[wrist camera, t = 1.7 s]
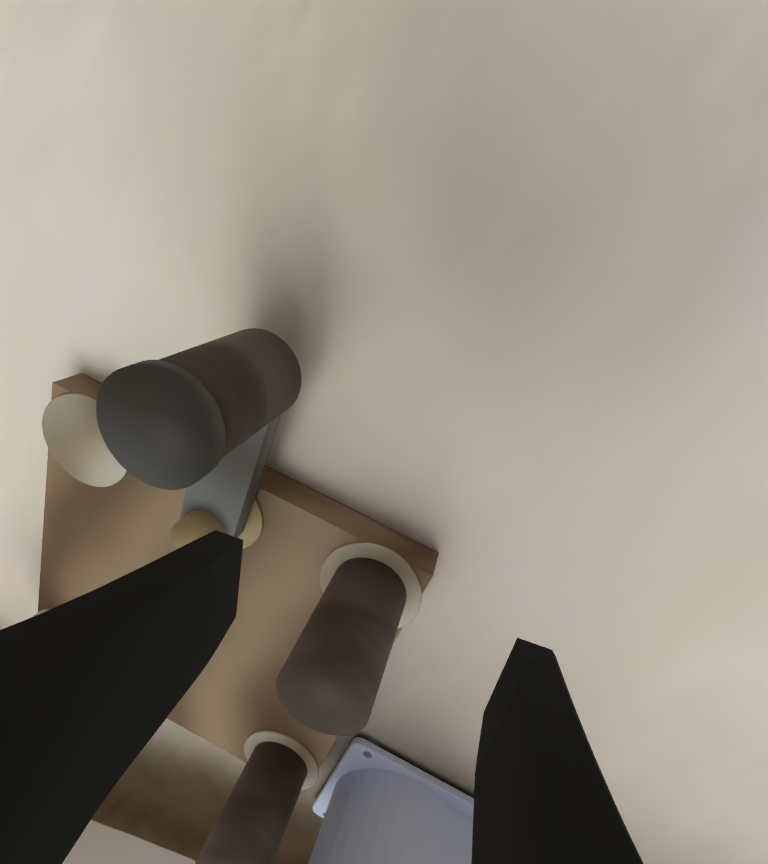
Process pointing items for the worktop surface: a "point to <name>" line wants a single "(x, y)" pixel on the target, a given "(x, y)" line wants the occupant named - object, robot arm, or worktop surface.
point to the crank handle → (202, 424)
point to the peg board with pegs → (243, 613)
